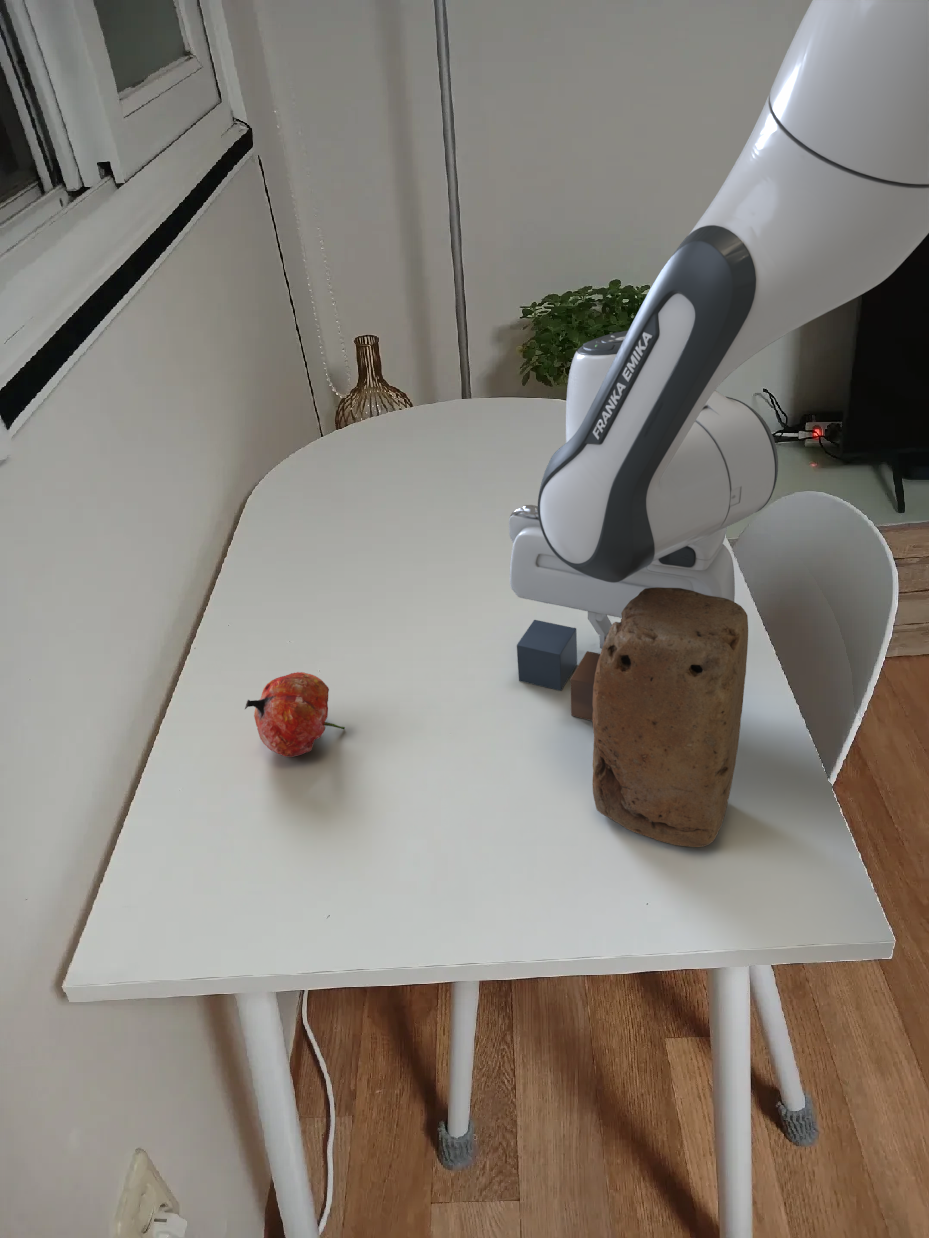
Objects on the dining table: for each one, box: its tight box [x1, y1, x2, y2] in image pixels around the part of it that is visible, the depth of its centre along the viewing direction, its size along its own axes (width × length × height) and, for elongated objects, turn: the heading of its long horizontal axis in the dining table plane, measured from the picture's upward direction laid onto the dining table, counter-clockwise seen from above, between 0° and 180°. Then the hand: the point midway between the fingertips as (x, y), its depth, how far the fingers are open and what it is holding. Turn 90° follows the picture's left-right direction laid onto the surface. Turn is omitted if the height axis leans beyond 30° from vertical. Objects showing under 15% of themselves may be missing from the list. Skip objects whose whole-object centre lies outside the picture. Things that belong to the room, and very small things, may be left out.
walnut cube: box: [569, 650, 600, 722], centre depth 87 cm, size 4×4×4 cm
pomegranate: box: [244, 671, 346, 758], centre depth 86 cm, size 7×7×10 cm
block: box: [591, 587, 749, 848], centre depth 72 cm, size 11×8×20 cm
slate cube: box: [516, 619, 578, 691], centre depth 92 cm, size 4×4×4 cm
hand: (617, 647), depth 90 cm, fingers closed
